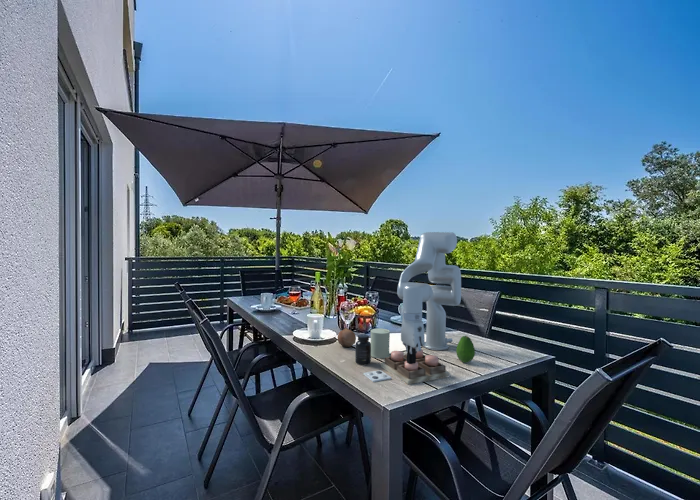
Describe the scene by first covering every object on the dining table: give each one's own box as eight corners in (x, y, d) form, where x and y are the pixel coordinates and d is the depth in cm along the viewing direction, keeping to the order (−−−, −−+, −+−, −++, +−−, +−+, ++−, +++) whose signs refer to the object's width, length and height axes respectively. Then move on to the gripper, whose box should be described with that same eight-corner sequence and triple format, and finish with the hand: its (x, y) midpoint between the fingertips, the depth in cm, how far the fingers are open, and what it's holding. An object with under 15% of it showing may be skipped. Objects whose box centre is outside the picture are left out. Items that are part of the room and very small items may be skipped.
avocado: (457, 364, 149) (458, 337, 149) (454, 358, 157) (455, 332, 156) (476, 365, 148) (477, 338, 148) (472, 359, 156) (473, 333, 155)
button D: (412, 366, 137) (412, 359, 137) (420, 370, 132) (420, 364, 132) (402, 368, 135) (402, 361, 135) (409, 372, 130) (409, 365, 130)
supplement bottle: (354, 360, 153) (354, 333, 152) (369, 359, 153) (370, 333, 153) (356, 365, 146) (356, 337, 145) (371, 365, 146) (372, 337, 146)
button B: (432, 360, 141) (432, 354, 141) (440, 364, 137) (441, 358, 137) (422, 362, 139) (422, 356, 139) (430, 366, 134) (430, 360, 134)
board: (419, 360, 154) (419, 351, 154) (449, 376, 136) (449, 366, 136) (380, 366, 145) (381, 357, 145) (407, 384, 127) (408, 373, 127)
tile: (380, 371, 139) (380, 369, 139) (391, 378, 132) (391, 376, 132) (363, 374, 136) (363, 372, 136) (373, 382, 129) (373, 380, 129)
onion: (344, 349, 176) (343, 330, 180) (359, 347, 172) (358, 328, 176) (333, 347, 169) (333, 327, 173) (350, 345, 164) (349, 324, 169)
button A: (418, 353, 150) (418, 347, 150) (425, 356, 146) (425, 350, 146) (408, 354, 148) (408, 348, 148) (415, 358, 144) (415, 352, 143)
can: (388, 359, 155) (389, 333, 154) (368, 357, 156) (369, 331, 156) (390, 352, 164) (390, 328, 163) (371, 351, 165) (371, 326, 165)
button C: (399, 356, 146) (399, 350, 146) (406, 360, 141) (406, 353, 141) (388, 357, 144) (388, 351, 144) (395, 361, 139) (395, 355, 139)
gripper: (432, 319, 128) (431, 368, 128) (409, 312, 142) (408, 356, 142) (415, 321, 125) (414, 370, 125) (393, 313, 138) (392, 358, 139)
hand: (411, 362), depth 133 cm, fingers closed
